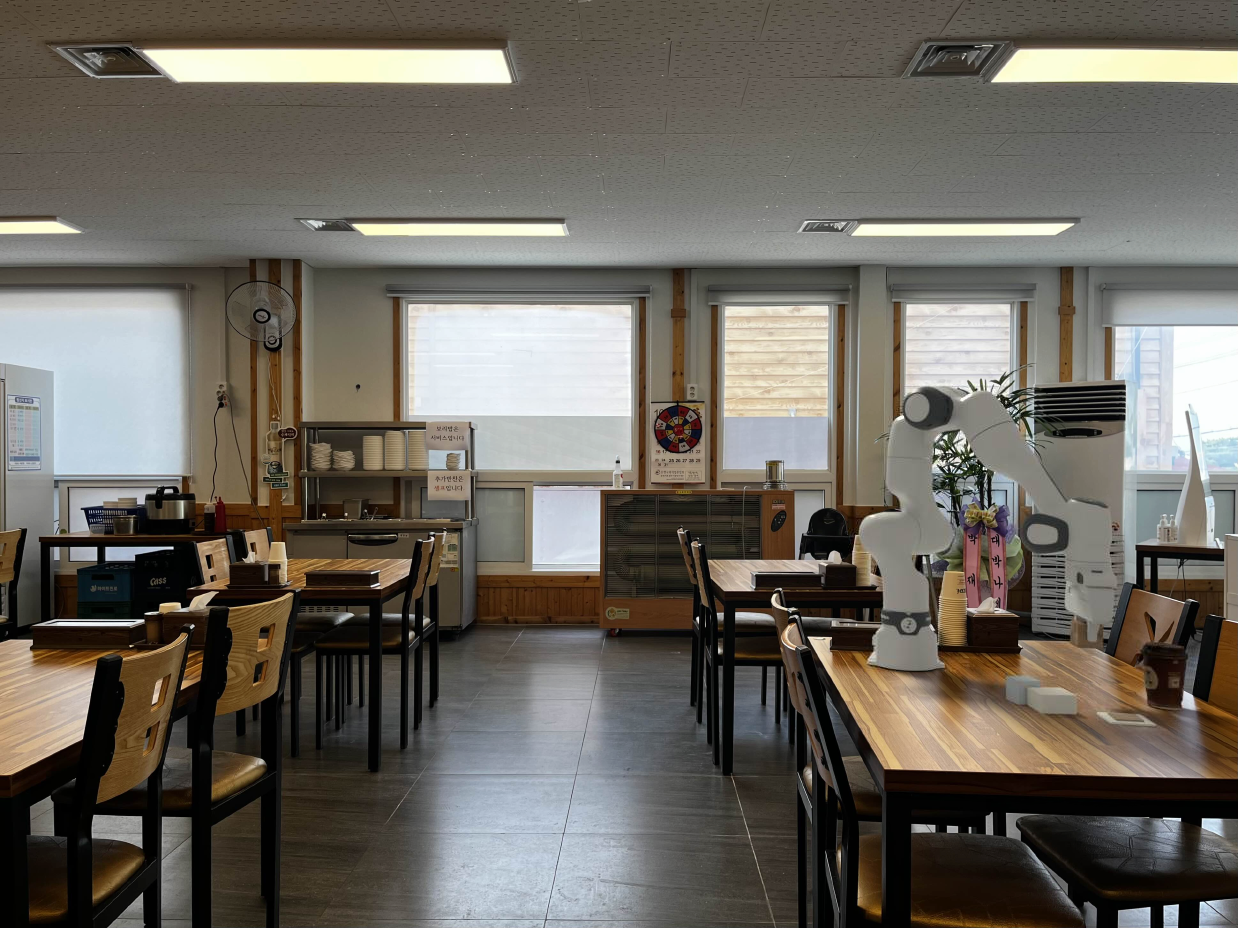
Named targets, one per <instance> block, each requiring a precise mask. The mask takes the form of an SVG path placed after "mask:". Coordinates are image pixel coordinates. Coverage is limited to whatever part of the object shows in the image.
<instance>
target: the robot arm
mask: <svg viewBox="0 0 1238 928" xmlns="http://www.w3.org/2000/svg"><path fill="white" fill-rule="evenodd" d="M901 410H902V411H901V412H902V414H901V415H900V416H898V417H896V418H895V419H894V420H893V422H892V424H891V427H890V428H891V429H890V431H889V438H888V445H887V453H886V455H887V457H886V474H885V475H886V476H885V478H886V479H885V485H886V488H887V490H888V491H889V492H890V493H891V494H893V495H894V496H896V498H897V499H898V500H899V503H900V507H901V508H900V509H901V511H883V512H882V511H881V512H878V513H874V514H870V515H867V516H866V517H864V518H863V520H862V521H861V522H860V523H861V524H860V525H859V529H858V537H859V538H858V539H859V542H860V544H861V546H862V547H863V550H865V551H866V552H868V554H869V555H870V556H872V558H873V559H874V561H875V562H876V565H877V566H878V568H879V572H880V575H881V580H882V598H883V601H882V605H883V607H882V608H881V613H880V617H881V619H880V622H881V626H880V627H879V628H878V629H877V631H876V632H875V634H873V636H872V638H871V639H872V640H871V641H872V642H871V645H872V646H873V652H872V653H871V654H870V656H869V657H868V658H867V661H866V665H872V666H876V667H877V666H878V667H883V668H884V669H885V668H886V669H891V670H899V671H914V672H915V671H918V672H919V671H931V670H935V669H936V670H937V669H945V668H946V666H945V665H946V664H945V663H944V662H942V661H941V660H939V659H938V658H939V657H938V654H939V653H938V636H937V635H938V634H937V633H935V631H933V630H932V628H931V624H932V623H931V622H932V621H931V620H932V616H931V615H932V614H931V611H930V606H929V605H930V604H929V603H930V602H929V601H930V597H929V595H930V584H929V580H928V578H927V577H926V576H925V575H924V574H923V573H921V572H920V571H918V570H917V568H916V567H915V565H914V561H913V556H919V555H920V556H922V555H923V556H925V555H926V556H927V555H929V556H930V555H933V554H937V553H940V552H943V551H946V550H948V549H949V548H950V546H951V544H952V542H953V539H954V529H953V525H952V524H951V521H950V520H949V519H948V518H947V517H946V516H945V514H943V512H941V510H940V509H939V507H938V504H937V502H936V499H935V496H934V490H933V460H934V459H933V457H934V456H933V455H934V443H935V440H936V438H937V437H938V436H940V434H941V435H943V436H948V435H951V434H954V433H956V432H960V431H961V432H962V434H963V435H964V437H965V439H966V440H967V441H966V442H968V445H969V447H970V448H971V450H972V452H973V454H974V456H975V457H976V459H978V460H979V462H980V463H981V464H982V465H983V466H984V467H985V468H986V469H988V470H989V471H992V472H993V473H996V474H999V475H1002V476H1004V477H1006V478H1007V479H1010V480H1012V481H1014V482H1015V483H1016V484H1019V486H1020V487H1022V489H1024V490H1025V492H1026V494H1027V496H1029V498H1030V500H1031V501H1032V502H1033V504H1034V506H1035V507H1036V508H1037V510H1038V512H1035V513H1033V514H1030V515H1028V516H1027V517H1025V518H1024V520H1023V522H1022V524H1021V526H1020V538H1021V542H1022V543H1023V545H1024V547H1025V548H1026V549H1027V550H1028V551H1029V552H1032V553H1033V554H1037V555H1041V556H1056V555H1057V556H1058V555H1064V557H1065V560H1064V580H1065V583H1066V584H1065V591H1064V592H1065V593H1064V595H1065V596H1064V607H1065V608H1064V609H1065V610H1067V611H1068V612H1070V613H1073V614H1074V615H1073V616H1074V617H1073V618H1074V620H1075V621H1087V625H1088V628H1087V632H1086V640H1088V641H1089V642H1096V641H1097V633H1098V630H1099V627H1100V624H1101V625H1110V624H1111V622H1112V621H1113V617H1114V606H1115V590H1114V588H1115V589H1116V588H1117V587H1118V578H1117V576H1116V575H1115V573H1114V572H1113V569H1112V557H1111V554H1110V553H1111V551H1110V550H1111V545H1112V543H1113V525H1112V524H1113V523H1112V515H1111V510H1110V507H1109V506H1108V505H1107V504H1106V503H1105V502H1102V501H1100V500H1096V499H1092V498H1085V497H1073V498H1070V499H1069V500H1067V499H1066V497H1065V496H1064V494H1063V493H1062V491H1061V490H1060V488H1059V487H1058V486H1057V483H1055V481H1054V479H1053V478H1052V476H1051V475H1050V474H1049V472H1048V471H1047V469H1046V468H1045V467H1044V465H1043V464H1042V463H1041V462H1040V460H1039V458H1038V457H1037V455H1035V453H1034V451H1033V450H1032V449H1031V448H1030V447H1031V446H1029V444H1028V442H1027V441H1026V440H1025V438H1024V436H1023V434H1022V433H1021V431H1020V428H1018V426H1017V424H1016V422H1015V421H1014V419H1013V417H1012V416H1011V414H1010V413H1009V411H1008V410H1007V409H1006V407H1005V406H1004V405H1003V404H1002V402H1001V401H1000V400H999V398H997V397H996V395H994V394H993V393H992V392H991V391H988V390H975V391H972V392H969V391H968V390H965V389H963V388H955V387H950V386H945V385H944V386H943V385H942V386H927V385H926V386H921V387H920V386H919V387H917V388H914V389H913V390H910V392H908V393H907V394H906V396H905V397H904V400H903V401H902V405H901Z"/></svg>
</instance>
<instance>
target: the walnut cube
mask: <svg viewBox="0 0 1238 928" xmlns="http://www.w3.org/2000/svg"><path fill="white" fill-rule="evenodd" d="M1087 628H1088V625H1087V620H1086V621H1075V619H1074V620H1070V636H1069V637H1070V641H1069V643H1070V645H1073V647H1076V648H1077V649H1078V648H1079V649H1094V650H1095V649H1096V650H1104V624H1100V627H1099V630H1098V633H1097V641H1096V642H1089V641H1088V640H1086V632H1087Z"/></svg>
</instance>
